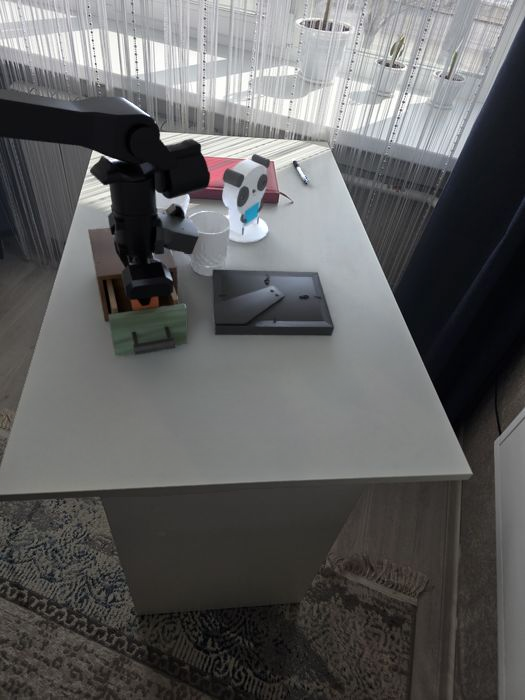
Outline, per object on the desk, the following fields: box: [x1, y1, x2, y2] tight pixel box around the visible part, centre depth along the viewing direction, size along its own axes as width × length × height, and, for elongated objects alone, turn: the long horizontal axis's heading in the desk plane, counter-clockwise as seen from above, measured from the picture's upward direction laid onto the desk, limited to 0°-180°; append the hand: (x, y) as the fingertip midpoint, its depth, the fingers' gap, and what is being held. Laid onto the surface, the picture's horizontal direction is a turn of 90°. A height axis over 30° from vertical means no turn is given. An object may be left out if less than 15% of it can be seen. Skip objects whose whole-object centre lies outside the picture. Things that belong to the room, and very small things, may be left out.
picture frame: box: [211, 269, 335, 337], centre depth 86 cm, size 16×3×21 cm
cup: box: [155, 190, 191, 216], centre depth 96 cm, size 10×10×9 cm
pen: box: [292, 158, 309, 185], centre depth 126 cm, size 14×2×1 cm, turn 12°
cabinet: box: [87, 227, 179, 323], centre depth 82 cm, size 14×13×10 cm
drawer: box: [106, 278, 188, 357], centre depth 75 cm, size 17×11×8 cm
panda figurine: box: [222, 153, 271, 244], centre depth 99 cm, size 12×11×15 cm
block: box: [130, 297, 159, 310], centre depth 73 cm, size 4×4×4 cm
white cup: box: [189, 210, 231, 277], centre depth 90 cm, size 8×8×10 cm
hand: (142, 295), depth 73 cm, fingers closed on block, 4 cm apart
